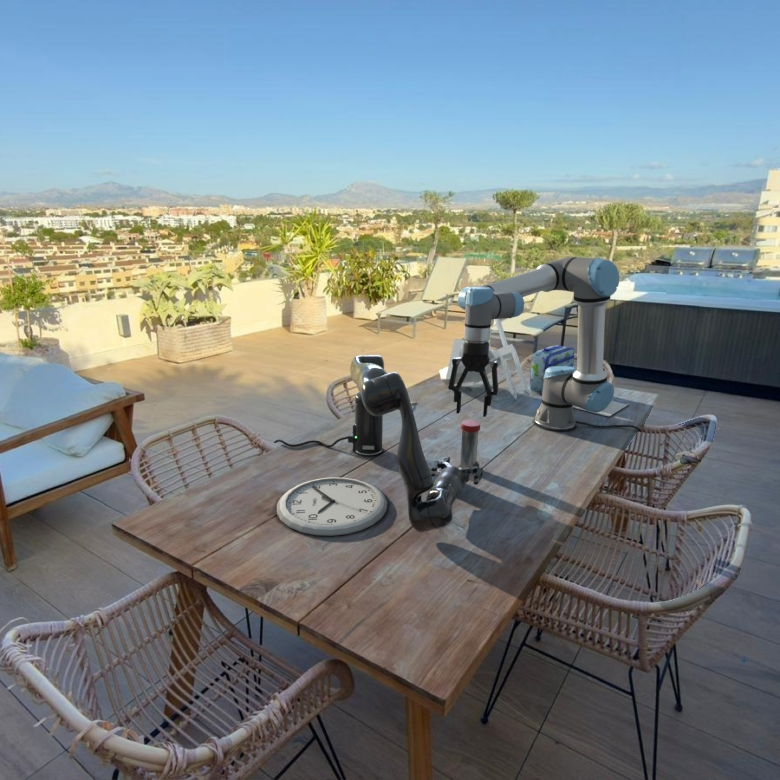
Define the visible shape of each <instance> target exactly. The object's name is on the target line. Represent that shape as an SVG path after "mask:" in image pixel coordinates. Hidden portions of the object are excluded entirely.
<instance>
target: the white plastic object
mask: <svg viewBox="0 0 780 780" xmlns="http://www.w3.org/2000/svg"><path fill="white" fill-rule="evenodd" d="M494 321H495V324H496V325H495V326H496V328H497V332H498V335H499V338H500V342H501V345H502V347H500V348H498V349H496V350H495V349H493V348H492V347H491V346H490V344H489V354H488V356H489V359H490V360H491V361H498V367H497V368H499V367H500V366H502V370H503V373H504V376H505V380H506V383H507V386H508V390H509V393H510V394H511V395H512V397H513V398H514V399H515V400H517V392H516V391H517V390H516V388H515V385H514V381H513V378H512V375H511V371H510V369H509V365H508V361H510V360H513V363H514V366H515V369H516V372H517V376H518V380H519V382H520V385H521V389H522V391H523V393H524V395H525V396H526V397H528V396H531V395H530V389H529V388H528V387H529V386H528V384H527V381H526V378H525V375H524V371H523V369H522V368H523V367H522V366H521V362H520V359H519V355H518V352H517V349H516V347H515V346H514V345H513V343H511V344H508V341H507V337H506V334H505V331H504V328H503V325H502V321H501V319H494ZM464 341H465V339H464V338H460V339H458V338H454V340H453V344H452V349H451V353H450V357H449V362H448V366H446V367H444V368H442V369H440V370H439V371H438V372H439V376H440V381H442V383H443V384H444V385H445V386H449V382H450V377H451V372H452V368H453V365H452V359H453V358H454V357H457V358H460V357H462V355H463V344H464ZM464 369H465V366H464V365H463V363H462V361H460V364H459V365H458V369H457V374H456V378H455V383H454V385H457V383H458V381H459V379H460V377H461V375H462V373H463V371H464ZM485 370H486V374H487V375H489V374H490V373H492V368H490V364H488V365H487V366H486V367H485ZM480 382H483V381H482V378H481V376H480V373H479V372H475V371H472V372H470V371H468V373H467V375H466V377H465V379H464V381H463V383H462V384H467V383H468V384H469V383H473V384H477V383H480Z"/></svg>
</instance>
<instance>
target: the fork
mask: <svg viewBox="0 0 780 780" xmlns="http://www.w3.org/2000/svg"><path fill="white" fill-rule="evenodd" d="M418 398H419V396H415V395H413V396H412V398H411V399H410V403H411V405H413V404H416V403H417V402H418Z"/></svg>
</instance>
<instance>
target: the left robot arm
mask: <svg viewBox="0 0 780 780" xmlns="http://www.w3.org/2000/svg"><path fill="white" fill-rule="evenodd" d="M349 372H350V377H351V380H352V382H353V383H354V384H355V385H356V387H357V389H358V391H359V392H357V393H356V394H355V396H354V423H353V425H352V431H351V433H350V434H348V435H347V436H344V437H340V438H337V439H336V440H335V441H333V443H331V444H325V443H324V442H322V441H321V440H315V439H313V440H306V441H304V442H303V441H302V442H300V443H295V444H293V443H292V444H291V443H288V442H286V441H284V440H282V439H276V440H275V441H273V443H274V444H277V443H281V444H283V445H285V446H287V447H290V448H294V447H295V448H297V447H302V446H304V445H307V444H313V443H316V444H319V445H321V446H323V447H326V448H333V447H334V446H335V445H337V443H339V442H341V441H344V440H347V443H349V444H350V443H351V444H352V452H353V453H356V454H357V455H360V456H363V457H374V456H378V455H380V454H381V453H382V452H383V429H384V428H383V425H384V424H383V423H384V421H383V420H384V419H383V417H384V415H387V414H390V413H392V412H395V411H399V413H400V416H401V433H400V438H399V442H398V448H397V452H396V464H397V468H398V472H399V475H400V477H401V480H402V483H403V485H404V488H405V492H406V501H407V513H408V514H407V515H408V520H409V523H410V525H411V526H412V528H413V529H414V531H416V532H419V533H426V532H429V531H433V530H434V531H435V530H438V529H442V528H445V527H447V526H449V525H450V524H451V523H452V521H453V519H454V517H453V514H454V513H453V505H454V503H455V502H456V500H457V499H458V498H459V497H460V495H461V493H462V491H463V489H464V488H465V485H466V483H468V482H469V481H470V482H473V485H479V483H480V482H481V480H482V478H483V474H484V468H482V467H480V463H479V461H477V460H476V461H475V463H474V465H473V466H472V467H469V466H467V467H463V468H460V466H459V467H458V466H454V465H451V462H450V461H451V456H446V457H444V458H443V459H442V460H440V461H439V460H438V459H436V460H434V462H433V463H432V465H431V467H429V464H428V462H427V460H426V457H425V454H424V450H423V447H422V444H421V440H420V435H419V431H418V426H417V422H416V418H415V414H414V410H413V407H412V404H411V403H410V401H411V399H410V395H409V393H408V390H407V386H406V384H405V381H404V379H403V378H402V376H401V375H400V374H399V372H397V371H391V372H387V371H386V370H385V360H384V358H383V356H382V355H380V354H378V355H377V354H375V355H374V354H371V355H369V354H368V355H367V354H366V355H364V354H363V355H355V356H354V357H353V358H352V359H351V361H350V366H349ZM472 470H473V471H472ZM466 471H467V472H466ZM436 476H437V477H436ZM433 477H436V478H435V480H434V479H433ZM426 492H427V494H426V497H425V501H423V500H422V499H423V498H422V496H423V494H424V493H426Z"/></svg>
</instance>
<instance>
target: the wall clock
mask: <svg viewBox="0 0 780 780" xmlns="http://www.w3.org/2000/svg"><path fill="white" fill-rule="evenodd" d="M387 509H388V500H387V498H386V496H385V494H384V493H383V492H382V491H381V490H380V489H379V488H377V487H376V486H374V485H372V484H371V483H369V482H365V481H362V480H359V479H355V478H349V477H338V476H337V477H335V476H333V477H332V476H331V477H322V478H317V479H312V480H307V481H305V482H302V483H299V484H297V485H295V486H293V487H292V488H290V489H288V490H287V491H286V492H285V493H284V494H283V495H281V496H280V498H279V499H278V502H277V503H276V515H277V517H278V518H279V520H280V521H281V522H282V523H283V524H285V525H286V526H287V527H288V528H290V529H293V530H295V531H297V532H299V533H303V534H308V535H312V536H327V537H328V536H329V537H331V536H332V537H333V536H342V535H350V534H352V533H356V532H361V531H363V530H366V529H368V528H369V527H372V526H373V525H375V524H376V523H378V522H379V521H380V520H381V519H382V518H383V517H384V516H385V514H386V512H387Z"/></svg>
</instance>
